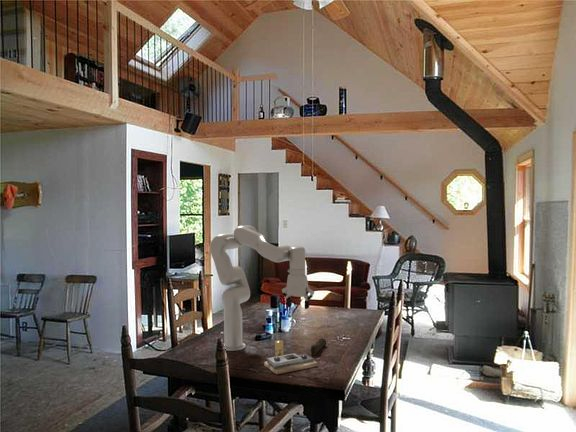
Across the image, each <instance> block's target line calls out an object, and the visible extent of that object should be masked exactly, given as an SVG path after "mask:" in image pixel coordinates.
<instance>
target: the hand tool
mask: <svg viewBox="0 0 576 432" xmlns="http://www.w3.org/2000/svg"><path fill="white" fill-rule="evenodd" d="M326 345H327V341H326V339H325V338H319V339H318V341H316V342H315V344H312V345H311V346H310V352H311V354H310V355H311V356H310V357H314V356H316V355H317V354H318V352H319V351H320V350H321V349H322V348H323V347H325V346H326Z"/></svg>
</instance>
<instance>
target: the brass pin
mask: <svg viewBox="0 0 576 432" xmlns="http://www.w3.org/2000/svg"><path fill="white" fill-rule="evenodd" d="M282 355H284V341H283V340H282V339H278V340H275V341H274V357H277V356H282Z"/></svg>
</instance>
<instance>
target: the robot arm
mask: <svg viewBox="0 0 576 432" xmlns="http://www.w3.org/2000/svg"><path fill="white" fill-rule="evenodd" d="M244 245H245V246H247V247H249V248H251V249H253V250H255V251H256V252H257V253H258V254H259V255H260V256H261V257H263V258H264V259H267V260H269V261H270V262H274V263H282V262H288V261H289V269H287V272H288V273H289V274H288V275H287V280H286V286H285V287H283V288H282V289H281V292H282V295H283V296H284V298H285V299H286V308H289V307H292V298H291V297H298V298H299V297H300V298H302V297H303V299H304V310H308V309H309V308H310V300H311V299H312V298H313V297H314V294H315V291H314V290H312V289H311V288H310V287H309V282H308V276H307V274H306V250H305V248H304V247H303V246H290V245H279V246H276V245H273V244H272V243H269V242H268V241H266V236H265V235H264V234H262V233H260V232H258V230H257V228H256V227H255V226H254V225H239V226H237V227H236V228H235V229H234V230H233V232H231V233H221V234H217V235H216V236H214V237H213V238H212V240H211V242H210V243H209V251H210V255H211V258H212V260H213V263H214V266H215V270H216V273H217V275H218V280H219V282H220V284H221V285H223V286H231V287H228V288H226V289H225V290H224V291H223V293H222V295H221V301H222V307H223V334H224V335H223V337H224V339H223V342H224V343H223V344H224V346H225V349H226V350H225V351H227V352H234V351H235V352H237V351H242V350H245V348H246V343H244V342H243V311H242V307H241V304H243V303H246V302H247V301H249V299H250V297H251V290H250V285H249V282H248V279H247V276H246V273H245V271H244V270H243V268H242V267H241V266H239V265H233V264H232V260H231V258H230V256H229V255H228V253H227V252H226V251H227V250H234V249H237V248H240V247H242V246H244Z"/></svg>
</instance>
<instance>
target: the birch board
mask: <svg viewBox="0 0 576 432" xmlns="http://www.w3.org/2000/svg"><path fill="white" fill-rule="evenodd" d="M263 365H264V366H265V367H266V368H267V369H269V371H271V372H273V373H274V374H275V375H280V374H286V373H290V372H294V371H299V370H304V369H310V368H315V367H318V361H315V360H314V361H313V362H308V363H303V364H298V365H293V366H288V367H282V368H277V369H274V368H273V367H272V366H270V365H269V364H268V363H267V360H266V361H264V362H263Z"/></svg>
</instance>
